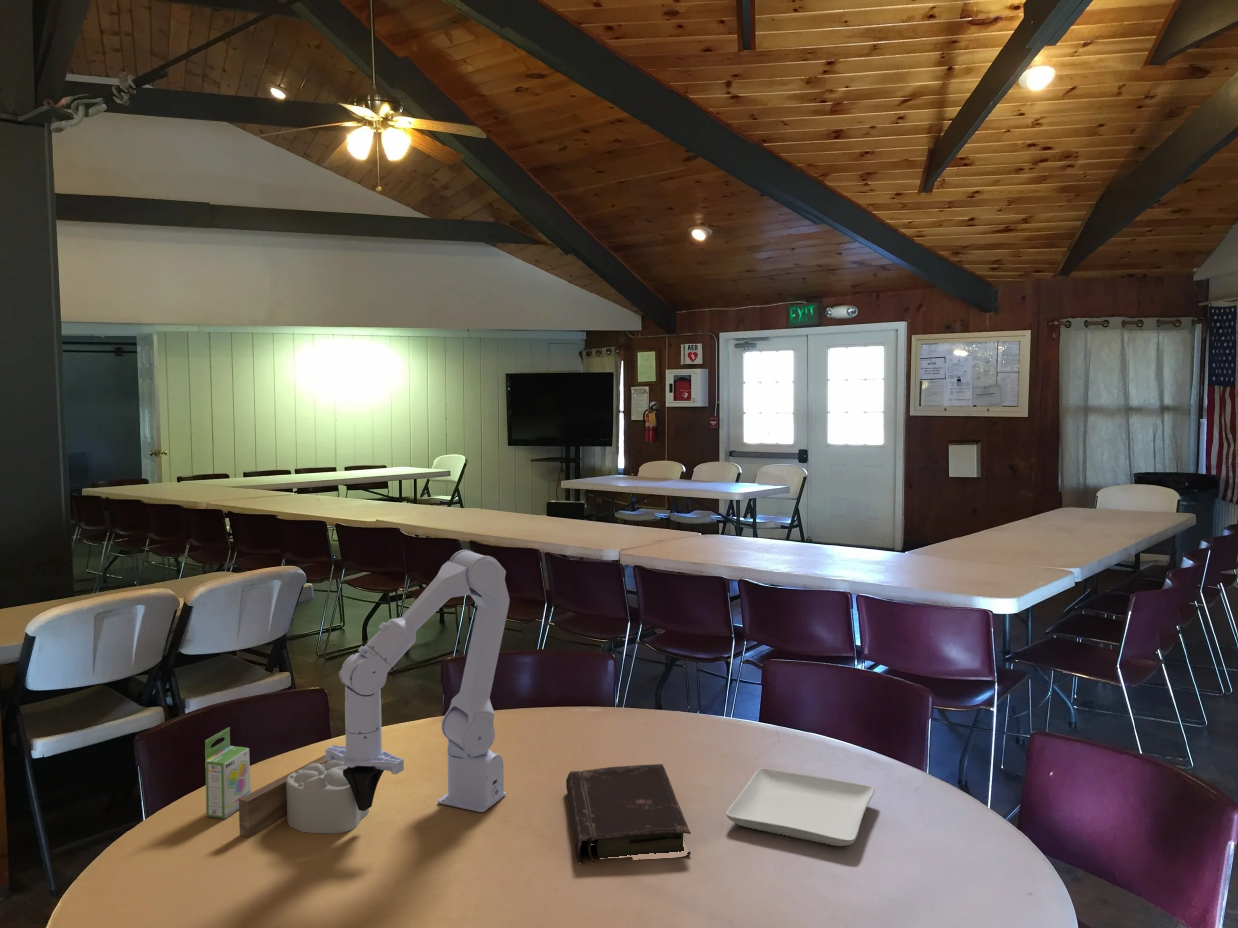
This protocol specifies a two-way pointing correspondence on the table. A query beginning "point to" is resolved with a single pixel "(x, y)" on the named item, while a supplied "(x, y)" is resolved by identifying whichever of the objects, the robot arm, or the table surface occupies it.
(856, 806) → the salad plate
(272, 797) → the walnut board
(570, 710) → the table surface
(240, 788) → the ink box
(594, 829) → the diary
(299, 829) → the lumpy-topped squat cylinder
